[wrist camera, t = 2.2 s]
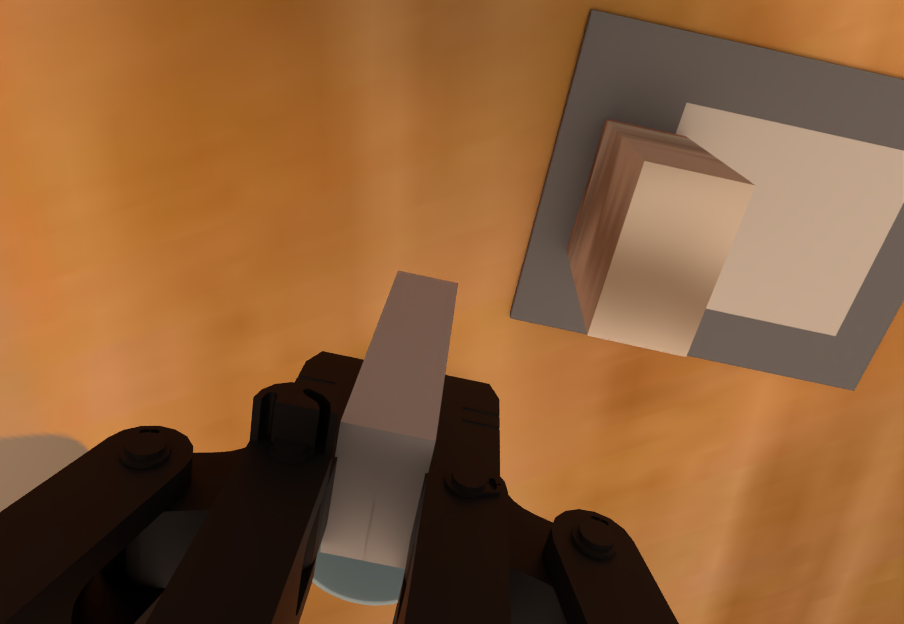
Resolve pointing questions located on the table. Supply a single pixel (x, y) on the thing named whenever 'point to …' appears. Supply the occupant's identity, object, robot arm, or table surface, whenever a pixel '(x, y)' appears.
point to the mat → (773, 200)
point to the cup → (358, 579)
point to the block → (652, 236)
